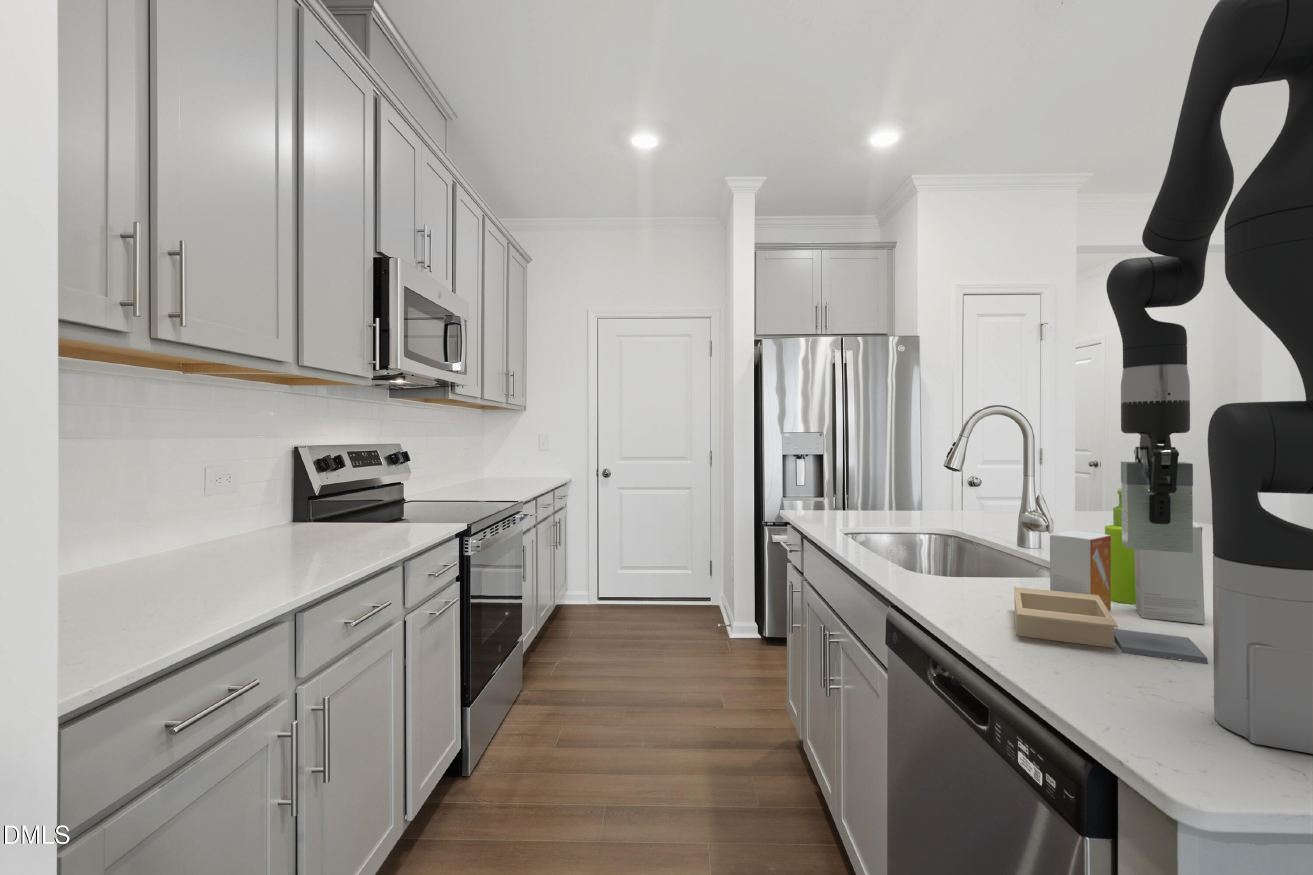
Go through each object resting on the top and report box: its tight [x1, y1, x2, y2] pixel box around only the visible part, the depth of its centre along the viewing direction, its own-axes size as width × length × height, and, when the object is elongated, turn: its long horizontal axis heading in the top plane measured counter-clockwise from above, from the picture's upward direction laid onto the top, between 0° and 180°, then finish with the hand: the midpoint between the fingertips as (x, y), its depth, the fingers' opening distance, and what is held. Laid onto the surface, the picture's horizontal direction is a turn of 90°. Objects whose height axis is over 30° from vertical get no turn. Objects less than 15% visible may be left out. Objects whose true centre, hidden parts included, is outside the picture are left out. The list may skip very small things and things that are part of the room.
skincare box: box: [1134, 521, 1206, 625], centre depth 100 cm, size 8×7×16 cm
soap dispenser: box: [1104, 488, 1136, 605], centre depth 110 cm, size 6×7×20 cm
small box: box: [1049, 530, 1112, 612], centre depth 104 cm, size 8×6×13 cm
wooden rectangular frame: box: [1013, 586, 1119, 649], centre depth 94 cm, size 18×12×4 cm, turn 151°
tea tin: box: [1120, 461, 1194, 553], centre depth 85 cm, size 5×7×12 cm, turn 61°
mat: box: [1114, 628, 1209, 665], centre depth 86 cm, size 9×9×1 cm
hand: (1155, 520), depth 85 cm, fingers closed on tea tin, 4 cm apart
